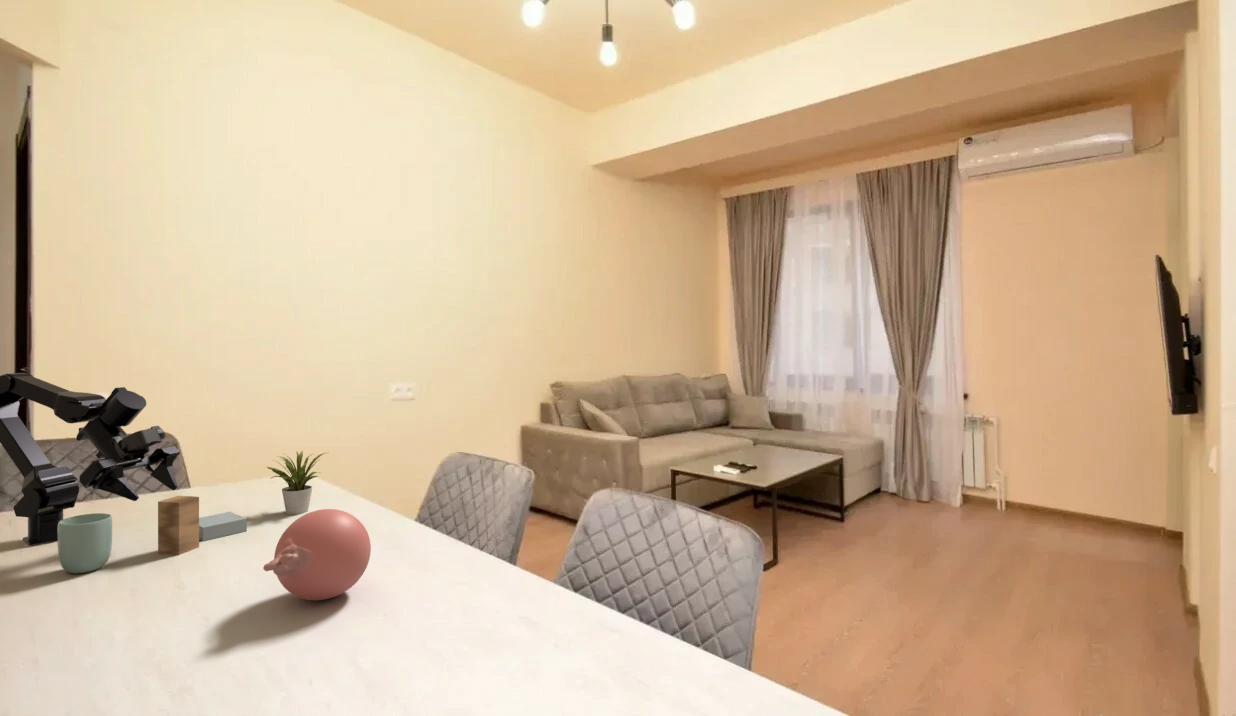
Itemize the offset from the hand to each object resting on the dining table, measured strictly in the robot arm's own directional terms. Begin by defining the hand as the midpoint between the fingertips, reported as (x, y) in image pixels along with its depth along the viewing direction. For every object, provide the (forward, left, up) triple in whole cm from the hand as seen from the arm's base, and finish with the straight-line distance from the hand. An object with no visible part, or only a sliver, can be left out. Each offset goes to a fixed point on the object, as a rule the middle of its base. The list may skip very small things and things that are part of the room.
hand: (157, 494), depth 129 cm
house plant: (-5, +33, -12) cm, 36 cm away
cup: (+3, -13, -12) cm, 18 cm away
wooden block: (+5, +2, -12) cm, 13 cm away
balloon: (+52, +6, -12) cm, 54 cm away
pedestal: (-2, +12, -12) cm, 17 cm away
